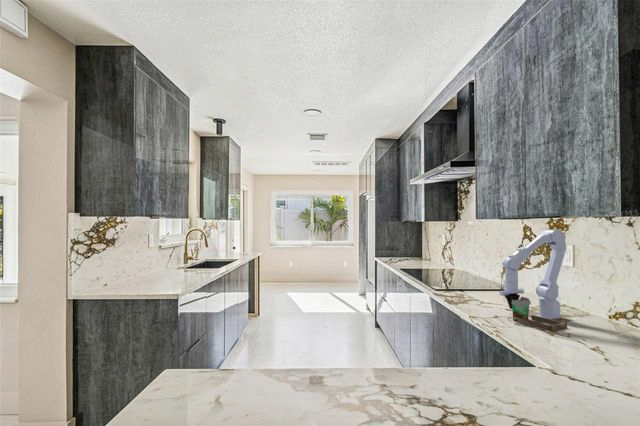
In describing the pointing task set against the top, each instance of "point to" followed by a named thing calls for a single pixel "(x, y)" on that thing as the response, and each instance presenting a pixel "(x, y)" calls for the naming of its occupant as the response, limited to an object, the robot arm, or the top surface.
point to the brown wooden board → (554, 326)
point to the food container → (521, 308)
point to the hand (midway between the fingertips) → (512, 308)
